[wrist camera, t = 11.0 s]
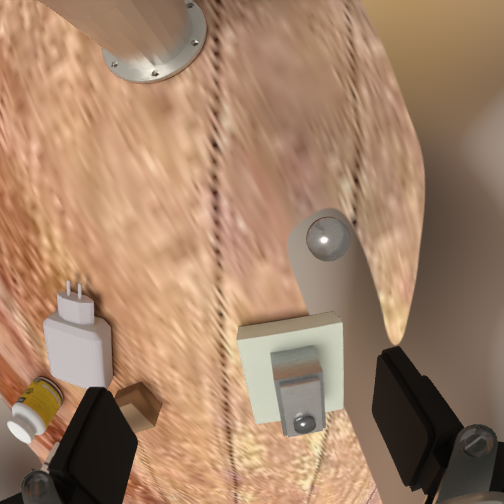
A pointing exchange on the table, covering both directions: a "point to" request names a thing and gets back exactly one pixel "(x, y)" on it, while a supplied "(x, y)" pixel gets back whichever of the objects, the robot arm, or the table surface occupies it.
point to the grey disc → (328, 238)
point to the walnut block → (138, 407)
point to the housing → (299, 390)
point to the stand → (285, 338)
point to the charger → (78, 342)
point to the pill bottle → (35, 409)
